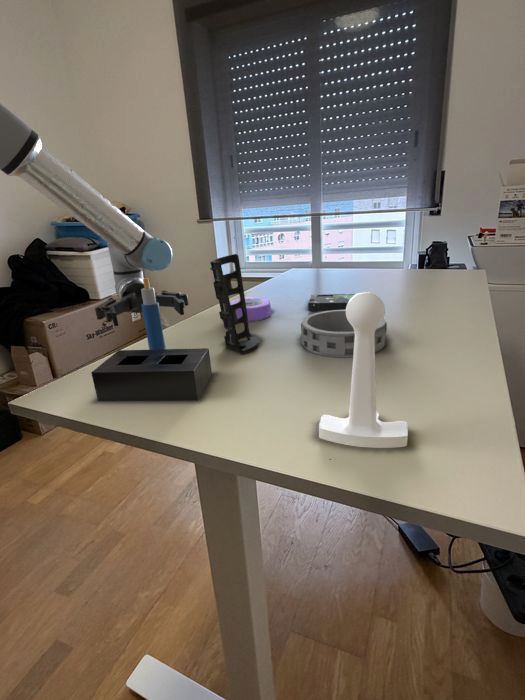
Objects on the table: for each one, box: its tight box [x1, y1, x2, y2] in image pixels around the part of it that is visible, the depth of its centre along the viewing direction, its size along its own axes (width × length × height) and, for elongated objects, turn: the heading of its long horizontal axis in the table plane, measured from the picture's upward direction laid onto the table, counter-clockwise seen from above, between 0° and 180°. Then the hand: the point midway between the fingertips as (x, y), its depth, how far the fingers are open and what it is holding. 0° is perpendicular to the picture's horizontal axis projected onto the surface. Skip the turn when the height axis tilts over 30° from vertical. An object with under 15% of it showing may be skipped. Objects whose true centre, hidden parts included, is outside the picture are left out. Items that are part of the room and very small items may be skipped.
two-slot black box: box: [90, 347, 213, 402], centre depth 71 cm, size 10×17×6 cm, turn 84°
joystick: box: [318, 291, 409, 449], centre depth 51 cm, size 11×8×20 cm
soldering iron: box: [141, 277, 167, 350], centre depth 81 cm, size 3×3×18 cm
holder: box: [209, 253, 261, 355], centre depth 88 cm, size 11×8×20 cm
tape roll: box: [230, 297, 272, 322], centre depth 114 cm, size 12×12×4 cm
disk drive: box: [307, 293, 357, 312], centre depth 117 cm, size 10×3×15 cm
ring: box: [300, 310, 388, 358], centre depth 88 cm, size 18×18×5 cm
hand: (149, 314), depth 84 cm, fingers open, 13 cm apart
